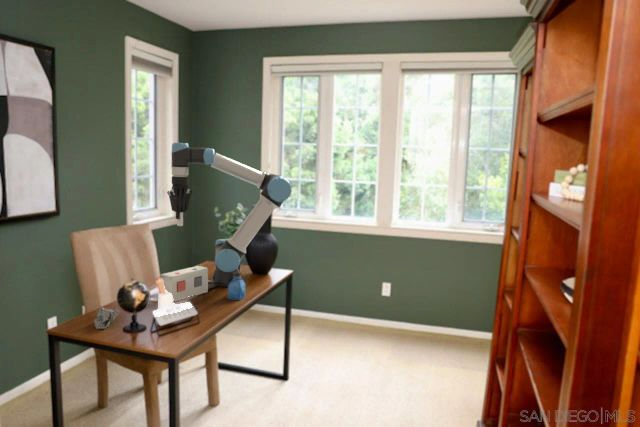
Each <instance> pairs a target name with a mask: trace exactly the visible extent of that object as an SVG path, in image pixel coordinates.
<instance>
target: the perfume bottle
mask: <svg viewBox="0 0 640 427" xmlns="http://www.w3.org/2000/svg"><path fill="white" fill-rule="evenodd" d="M241 274H242V273H241V272H240V271H239V272H235V273H234V275H233V278H234V279H233V280H232V281H231V282H230V284H229V286H227V299H228V300H234V301H235V300H236V301H241V300H243V299H244V298H245V297H246V285H247V284H246V283H245V281H244V279H243V278H242V276H241ZM240 278H241V279H240ZM242 298H243V299H242Z"/></svg>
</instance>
